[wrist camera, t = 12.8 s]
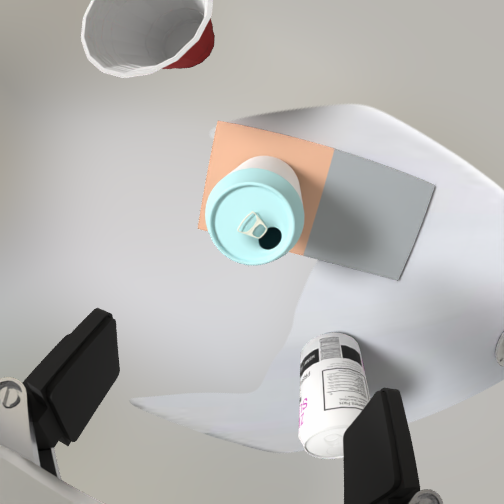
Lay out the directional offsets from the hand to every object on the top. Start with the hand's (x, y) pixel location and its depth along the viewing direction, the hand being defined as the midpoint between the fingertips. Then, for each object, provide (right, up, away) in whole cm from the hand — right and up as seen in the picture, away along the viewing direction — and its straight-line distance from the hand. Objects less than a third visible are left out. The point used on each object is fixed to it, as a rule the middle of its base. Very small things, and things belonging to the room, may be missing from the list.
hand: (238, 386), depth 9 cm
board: (+7, +10, +22) cm, 25 cm away
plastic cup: (-6, +26, +16) cm, 32 cm away
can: (+2, +11, +21) cm, 24 cm away
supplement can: (+11, -9, +29) cm, 33 cm away
